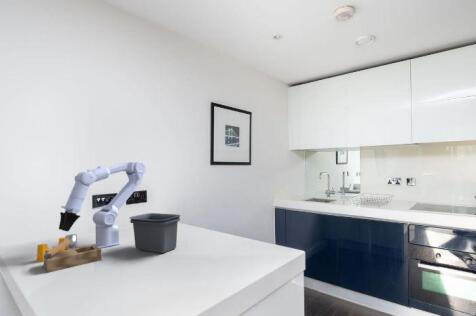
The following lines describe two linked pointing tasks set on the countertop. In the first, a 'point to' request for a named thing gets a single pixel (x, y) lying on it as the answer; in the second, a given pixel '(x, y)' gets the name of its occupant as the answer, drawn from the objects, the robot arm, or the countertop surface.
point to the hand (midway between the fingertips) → (63, 230)
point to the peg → (73, 241)
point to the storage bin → (155, 231)
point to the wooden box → (71, 258)
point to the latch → (58, 247)
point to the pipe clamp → (44, 247)
